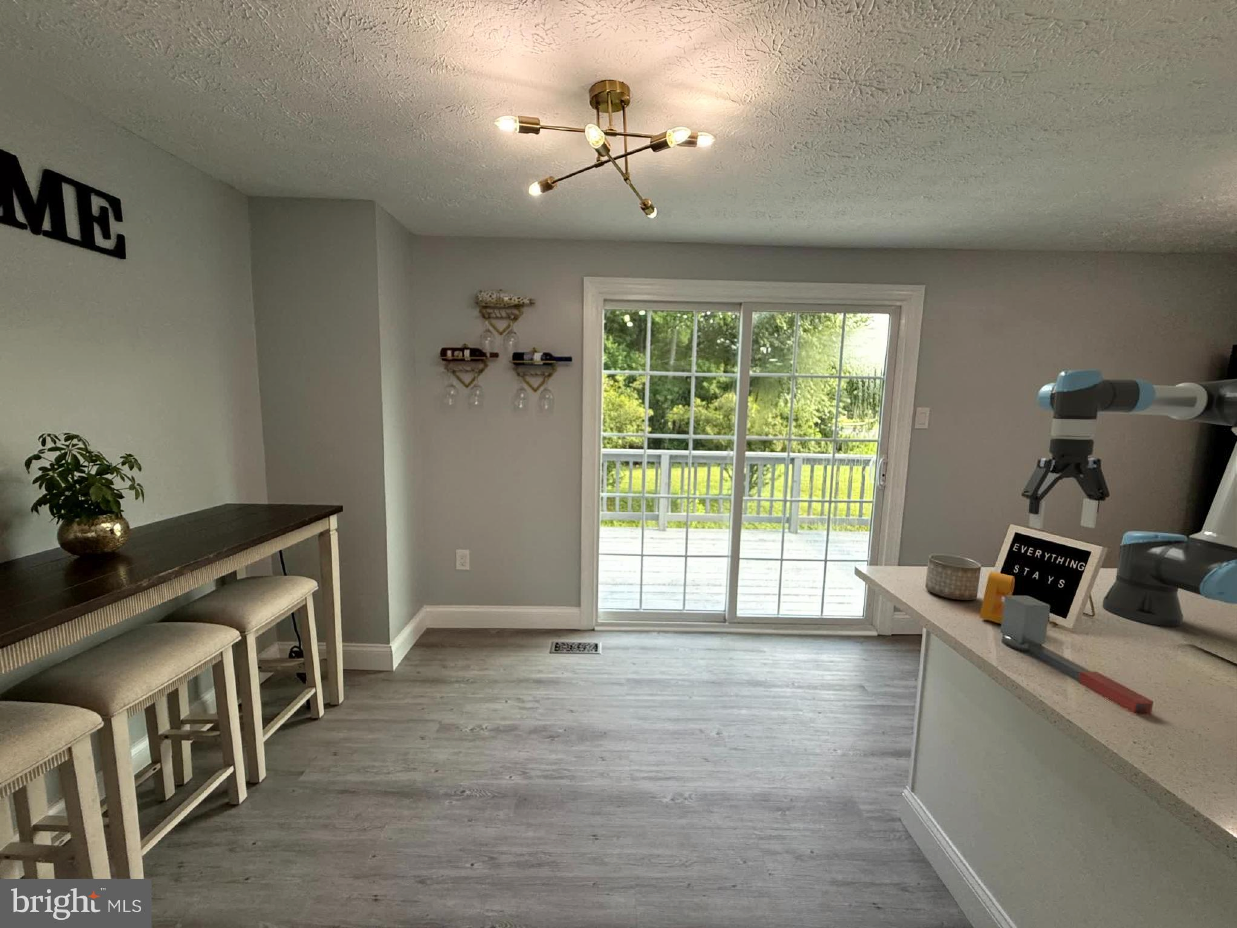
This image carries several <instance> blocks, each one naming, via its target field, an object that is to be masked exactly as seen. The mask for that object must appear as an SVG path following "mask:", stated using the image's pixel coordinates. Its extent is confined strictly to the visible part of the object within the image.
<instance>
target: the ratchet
mask: <svg viewBox="0 0 1237 928" xmlns="http://www.w3.org/2000/svg"><path fill="white" fill-rule="evenodd" d="M1001 643H1002V644H1003V645H1005V647H1007V648H1010V649H1011V650H1014V651H1018V652H1022V653H1024V654H1029V655H1030V656H1032V657H1033V658H1035V659H1038V661H1040V662H1042V663H1044V664H1046V665H1048V666H1049V667H1051V668H1053V669H1055V670H1057V671H1059V672H1060V673H1062V674H1064V675H1065V676H1067V677H1069V678H1071V679H1072V680H1074V681H1076V682H1078V683H1079V684H1080V685H1082V686H1083V687H1085V688H1087V689H1089V690H1091V691H1093V692H1094V693H1096V694H1098V695H1099V694H1100V696H1101V695H1102V696H1101V697H1103V698H1105V697H1106V698H1105V699H1107V698H1108V699H1109V701H1110V700H1111V702H1112V701H1113V702H1112V703H1114V702H1115V703H1117V704H1118V706H1119V705H1120V706H1119V707H1121V706H1122V707H1123V708H1122V707H1121V708H1122V709H1124V708H1126V709H1128V710H1129V711H1128V710H1127V711H1128V712H1130V711H1131V712H1133V713H1137V714H1136V715H1143V714H1144V715H1146V714H1147V715H1151V714H1152V710H1153V707H1154V701H1153V700H1152V699H1150V698H1148V697H1145V696H1144V695H1142V694H1140V693H1139V692H1137V691H1135V690H1133V689H1130V688H1129V687H1126V686H1124V685H1123V684H1122V683H1119V682H1117V681H1116V680H1113V679H1111V678H1109V676H1105V675H1104V674H1103V673H1100V672H1098V671H1091V670H1089V669H1087V668H1085V667H1083V666H1081V665H1079V664H1077V662H1074V661H1072V660H1070V659H1068V658H1066V657H1065V656H1063V655H1061V654H1059V653H1057V652H1055V651H1053V650H1051V649H1049V648H1048V647H1045V646H1043V644H1020V643H1019V642H1017V641H1015V640H1013V639H1011V638H1010V637H1008V636H1006V635H1004V634H1002V636H1001ZM1108 699H1107V700H1108ZM1115 703H1114V704H1115ZM1117 704H1116V705H1117ZM1126 709H1125V710H1126ZM1131 712H1130V713H1131ZM1133 713H1132V714H1133Z"/></svg>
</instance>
